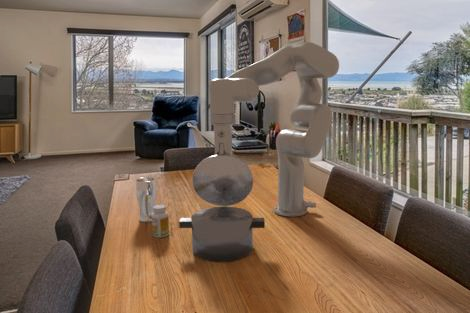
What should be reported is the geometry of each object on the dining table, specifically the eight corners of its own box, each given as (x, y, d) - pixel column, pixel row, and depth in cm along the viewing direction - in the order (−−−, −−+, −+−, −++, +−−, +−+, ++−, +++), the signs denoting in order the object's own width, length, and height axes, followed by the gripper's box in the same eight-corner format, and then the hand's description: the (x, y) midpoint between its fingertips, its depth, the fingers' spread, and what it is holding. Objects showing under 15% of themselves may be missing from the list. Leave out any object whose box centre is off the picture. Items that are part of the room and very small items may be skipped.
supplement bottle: (170, 231, 125) (168, 203, 123) (168, 237, 120) (166, 209, 118) (154, 231, 125) (152, 204, 123) (151, 238, 120) (149, 209, 118)
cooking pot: (262, 235, 120) (263, 206, 118) (265, 262, 103) (265, 228, 101) (186, 235, 121) (184, 206, 119) (175, 262, 104) (174, 228, 102)
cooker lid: (252, 205, 119) (252, 199, 121) (253, 156, 109) (252, 150, 112) (194, 206, 119) (196, 199, 122) (189, 156, 110) (191, 151, 112)
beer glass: (138, 223, 132) (135, 182, 129) (137, 217, 139) (135, 178, 136) (158, 221, 134) (155, 181, 131) (156, 215, 141) (154, 176, 138)
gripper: (233, 121, 108) (233, 183, 111) (235, 117, 122) (235, 171, 126) (207, 121, 108) (208, 183, 112) (212, 117, 123) (213, 171, 126)
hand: (223, 176), depth 119 cm, fingers closed
